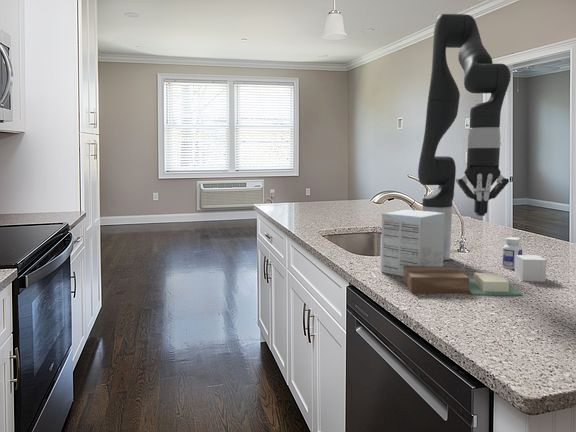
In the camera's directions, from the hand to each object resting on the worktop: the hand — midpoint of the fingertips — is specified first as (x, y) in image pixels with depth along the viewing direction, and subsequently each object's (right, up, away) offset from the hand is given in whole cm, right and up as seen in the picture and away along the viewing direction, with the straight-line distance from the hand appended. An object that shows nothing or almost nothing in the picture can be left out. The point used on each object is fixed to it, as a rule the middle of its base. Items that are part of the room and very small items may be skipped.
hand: (480, 215), depth 126 cm
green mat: (+3, -19, +2) cm, 19 cm away
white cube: (+18, -18, +11) cm, 27 cm away
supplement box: (-13, -17, +19) cm, 28 cm away
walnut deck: (-11, -19, +3) cm, 22 cm away
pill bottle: (+19, -16, +24) cm, 34 cm away
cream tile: (+3, -16, +1) cm, 16 cm away
